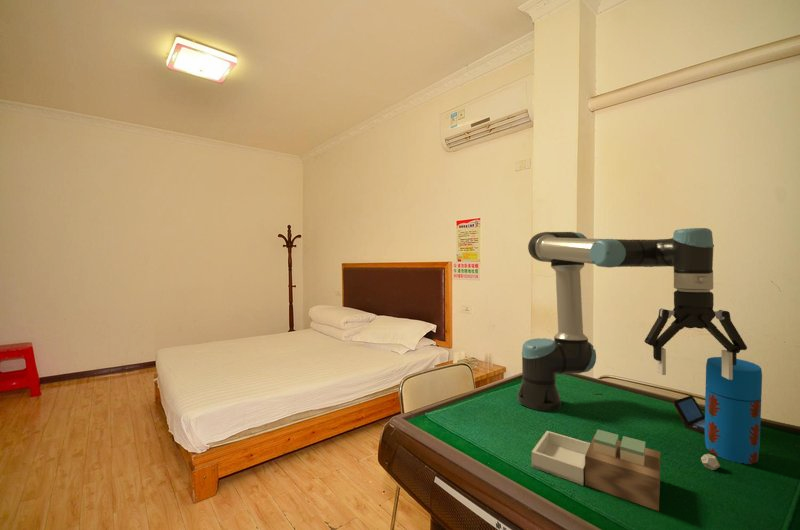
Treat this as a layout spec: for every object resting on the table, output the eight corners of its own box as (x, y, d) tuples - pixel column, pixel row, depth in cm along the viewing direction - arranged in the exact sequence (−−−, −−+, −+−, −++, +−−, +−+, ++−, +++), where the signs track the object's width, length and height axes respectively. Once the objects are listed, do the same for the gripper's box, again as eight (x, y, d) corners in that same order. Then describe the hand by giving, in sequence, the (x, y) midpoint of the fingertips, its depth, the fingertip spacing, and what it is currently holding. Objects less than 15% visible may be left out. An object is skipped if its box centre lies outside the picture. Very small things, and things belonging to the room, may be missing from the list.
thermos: (694, 442, 99) (695, 358, 97) (727, 438, 100) (730, 355, 98) (733, 466, 89) (736, 373, 87) (771, 462, 90) (774, 369, 88)
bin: (531, 467, 89) (531, 451, 89) (546, 444, 100) (546, 430, 100) (583, 485, 81) (583, 468, 81) (593, 458, 92) (593, 444, 92)
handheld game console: (713, 439, 103) (713, 414, 103) (671, 423, 112) (671, 401, 112) (732, 429, 108) (732, 406, 108) (691, 416, 118) (691, 394, 118)
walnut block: (585, 485, 81) (585, 455, 81) (594, 460, 92) (594, 434, 92) (658, 511, 73) (658, 478, 73) (660, 480, 83) (660, 451, 83)
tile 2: (620, 459, 80) (620, 446, 80) (623, 448, 85) (623, 435, 85) (643, 466, 77) (643, 452, 77) (645, 454, 82) (645, 441, 82)
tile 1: (593, 451, 83) (593, 438, 83) (597, 440, 88) (597, 429, 88) (615, 457, 81) (615, 444, 81) (618, 446, 85) (618, 434, 85)
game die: (700, 461, 91) (700, 450, 91) (719, 467, 88) (719, 455, 88) (700, 468, 88) (701, 456, 88) (720, 473, 86) (720, 461, 86)
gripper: (641, 290, 85) (641, 376, 85) (767, 292, 78) (767, 385, 78) (630, 288, 92) (630, 367, 92) (744, 290, 86) (745, 375, 86)
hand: (693, 375), depth 85 cm, fingers open, 13 cm apart
